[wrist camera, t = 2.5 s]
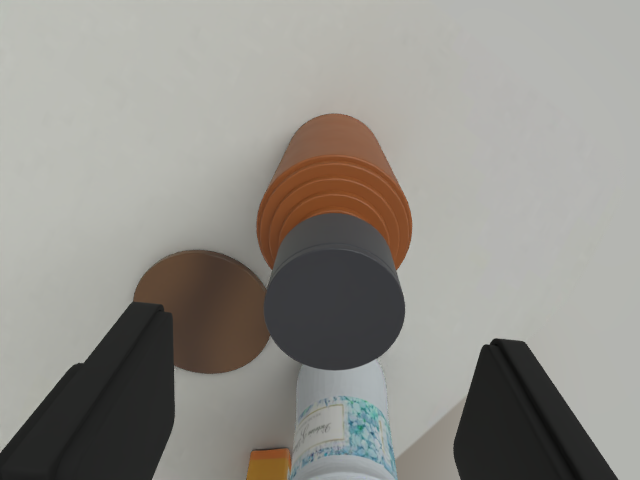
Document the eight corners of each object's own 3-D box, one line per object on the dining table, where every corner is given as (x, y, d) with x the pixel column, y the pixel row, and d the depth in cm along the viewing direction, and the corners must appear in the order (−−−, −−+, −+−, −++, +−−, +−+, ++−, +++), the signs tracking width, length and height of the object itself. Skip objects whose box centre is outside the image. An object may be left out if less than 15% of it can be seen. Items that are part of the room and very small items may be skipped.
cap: (401, 219, 14) (417, 256, 11) (382, 322, 15) (392, 377, 13) (280, 205, 14) (267, 240, 11) (271, 311, 15) (259, 363, 13)
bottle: (340, 310, 33) (349, 646, 14) (403, 364, 34) (486, 729, 16) (278, 364, 35) (215, 723, 16) (341, 413, 36) (349, 789, 18)
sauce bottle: (388, 119, 27) (468, 214, 11) (373, 212, 30) (421, 403, 14) (290, 108, 27) (227, 187, 11) (282, 202, 30) (221, 381, 13)
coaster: (278, 258, 31) (277, 261, 31) (268, 375, 35) (267, 380, 34) (132, 242, 31) (128, 245, 30) (138, 361, 35) (135, 366, 34)
